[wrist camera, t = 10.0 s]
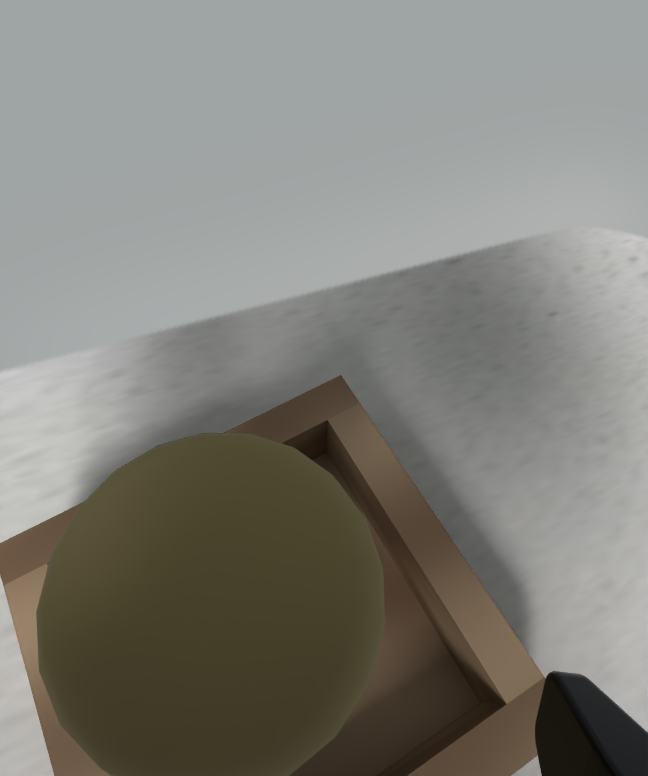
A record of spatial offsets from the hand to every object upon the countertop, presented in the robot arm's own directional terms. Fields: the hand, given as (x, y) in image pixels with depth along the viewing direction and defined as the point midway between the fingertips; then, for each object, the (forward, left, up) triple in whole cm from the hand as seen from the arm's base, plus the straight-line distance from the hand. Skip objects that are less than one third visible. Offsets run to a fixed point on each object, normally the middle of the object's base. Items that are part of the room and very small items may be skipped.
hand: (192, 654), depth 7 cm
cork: (+1, 0, -11) cm, 11 cm away
